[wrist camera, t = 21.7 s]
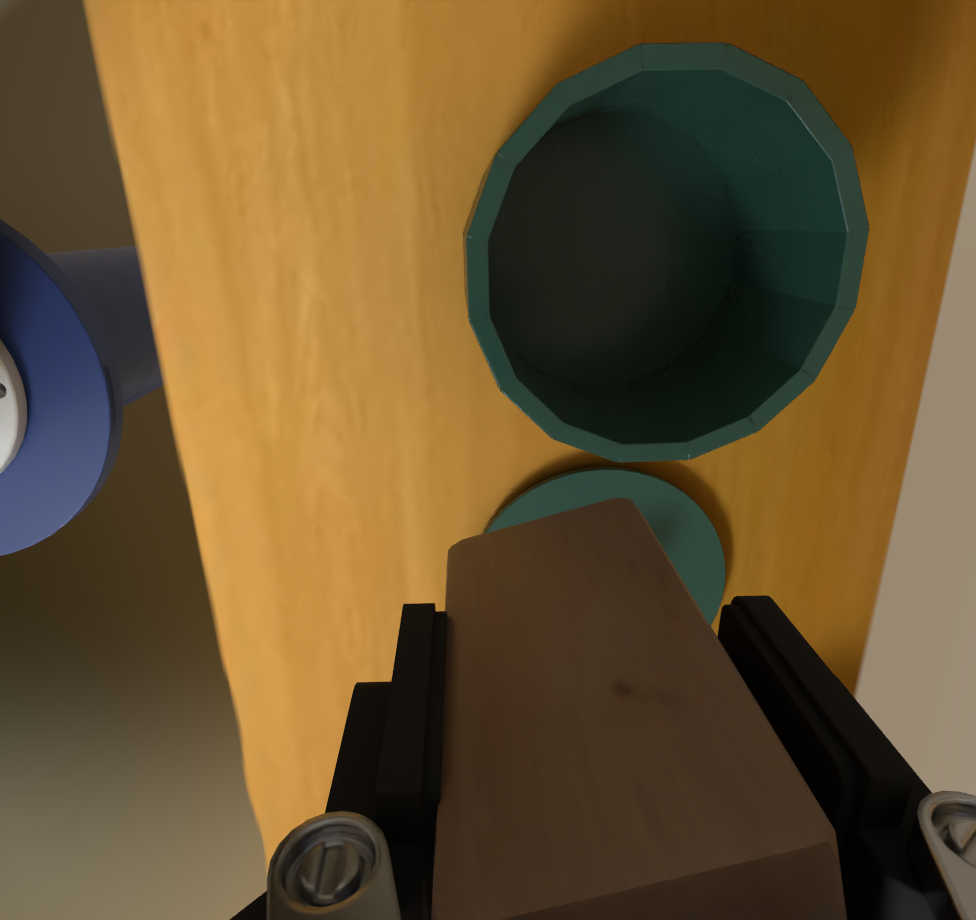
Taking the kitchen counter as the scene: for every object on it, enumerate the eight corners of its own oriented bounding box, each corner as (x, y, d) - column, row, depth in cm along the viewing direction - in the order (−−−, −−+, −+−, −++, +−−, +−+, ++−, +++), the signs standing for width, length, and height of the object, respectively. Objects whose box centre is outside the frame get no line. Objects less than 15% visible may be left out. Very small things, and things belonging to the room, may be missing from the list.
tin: (468, 400, 36) (472, 468, 26) (458, 100, 31) (460, 45, 21) (729, 391, 36) (831, 455, 27) (762, 96, 31) (902, 39, 21)
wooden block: (631, 484, 13) (856, 840, 6) (667, 643, 15) (886, 1098, 7) (441, 537, 13) (416, 944, 6) (494, 688, 15) (528, 1173, 7)
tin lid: (471, 689, 43) (473, 762, 37) (462, 467, 37) (464, 512, 32) (706, 678, 43) (744, 748, 37) (732, 457, 38) (781, 499, 32)
